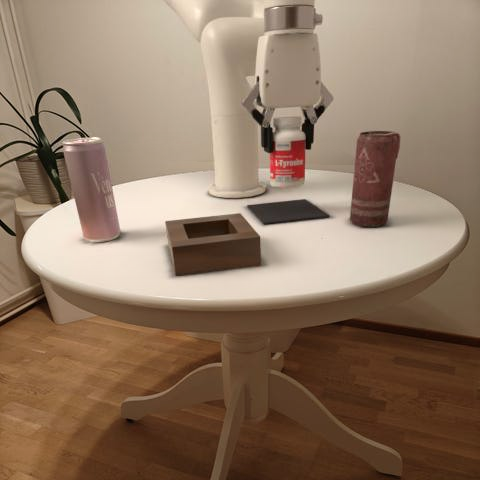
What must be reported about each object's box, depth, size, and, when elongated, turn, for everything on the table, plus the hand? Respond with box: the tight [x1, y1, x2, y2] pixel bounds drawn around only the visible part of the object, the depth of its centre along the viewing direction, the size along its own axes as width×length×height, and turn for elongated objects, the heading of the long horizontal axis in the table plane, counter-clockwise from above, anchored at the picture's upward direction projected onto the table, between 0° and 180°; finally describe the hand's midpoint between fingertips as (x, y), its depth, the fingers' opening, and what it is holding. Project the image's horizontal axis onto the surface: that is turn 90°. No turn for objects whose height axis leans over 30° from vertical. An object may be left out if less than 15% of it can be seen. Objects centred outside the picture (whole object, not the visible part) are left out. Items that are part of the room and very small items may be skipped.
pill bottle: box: [269, 116, 306, 189], centre depth 73 cm, size 6×6×11 cm
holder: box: [164, 212, 262, 277], centre depth 60 cm, size 12×12×4 cm
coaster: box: [246, 198, 330, 226], centre depth 78 cm, size 12×12×1 cm
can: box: [349, 130, 401, 228], centre depth 68 cm, size 6×6×14 cm
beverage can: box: [62, 137, 121, 243], centre depth 66 cm, size 6×6×15 cm
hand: (287, 149), depth 73 cm, fingers closed on pill bottle, 6 cm apart
